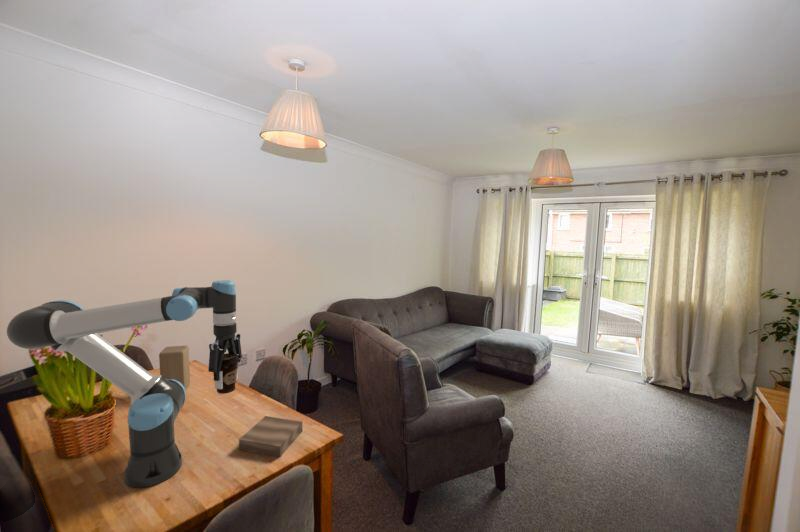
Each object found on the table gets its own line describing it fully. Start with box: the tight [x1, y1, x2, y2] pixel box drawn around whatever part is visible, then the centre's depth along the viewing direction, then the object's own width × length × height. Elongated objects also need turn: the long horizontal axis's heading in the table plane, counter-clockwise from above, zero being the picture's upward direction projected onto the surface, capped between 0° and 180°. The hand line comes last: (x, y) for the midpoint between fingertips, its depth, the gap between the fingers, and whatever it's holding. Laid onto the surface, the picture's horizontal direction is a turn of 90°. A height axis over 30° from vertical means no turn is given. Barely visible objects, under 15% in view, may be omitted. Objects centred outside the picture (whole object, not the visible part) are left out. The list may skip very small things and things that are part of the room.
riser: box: [238, 415, 304, 458], centre depth 131 cm, size 16×16×4 cm
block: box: [158, 345, 191, 391], centre depth 168 cm, size 10×10×20 cm
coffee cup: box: [216, 353, 239, 395], centre depth 130 cm, size 9×8×13 cm
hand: (226, 383), depth 130 cm, fingers closed on coffee cup, 7 cm apart
